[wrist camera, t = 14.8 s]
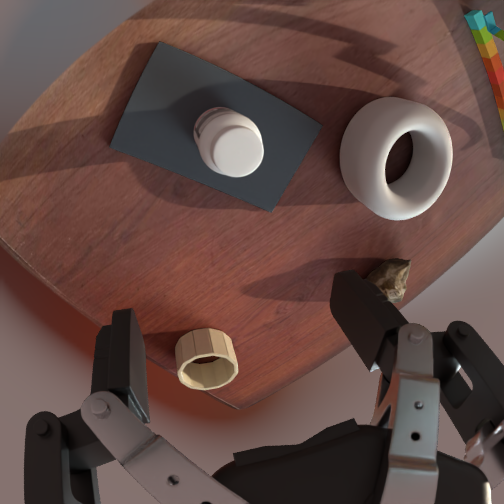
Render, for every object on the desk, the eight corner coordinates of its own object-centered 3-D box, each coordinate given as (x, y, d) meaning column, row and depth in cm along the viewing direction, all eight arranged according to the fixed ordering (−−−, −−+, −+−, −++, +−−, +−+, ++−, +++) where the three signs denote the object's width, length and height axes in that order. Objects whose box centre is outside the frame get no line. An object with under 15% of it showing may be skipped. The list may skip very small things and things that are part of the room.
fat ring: (434, 111, 36) (468, 122, 31) (409, 206, 43) (437, 227, 38) (348, 82, 32) (381, 88, 26) (324, 199, 39) (350, 222, 34)
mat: (109, 146, 30) (108, 147, 29) (159, 41, 25) (159, 41, 25) (270, 210, 38) (271, 213, 38) (320, 124, 34) (323, 125, 34)
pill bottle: (245, 152, 33) (273, 182, 25) (195, 159, 32) (206, 191, 24) (243, 103, 30) (271, 115, 22) (190, 109, 29) (199, 122, 21)
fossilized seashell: (411, 246, 44) (352, 269, 46) (428, 286, 42) (368, 310, 43) (403, 261, 51) (351, 281, 53) (417, 296, 49) (364, 317, 50)
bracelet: (167, 360, 48) (170, 385, 44) (187, 322, 44) (191, 348, 40) (217, 369, 52) (222, 392, 47) (240, 334, 48) (248, 359, 44)
